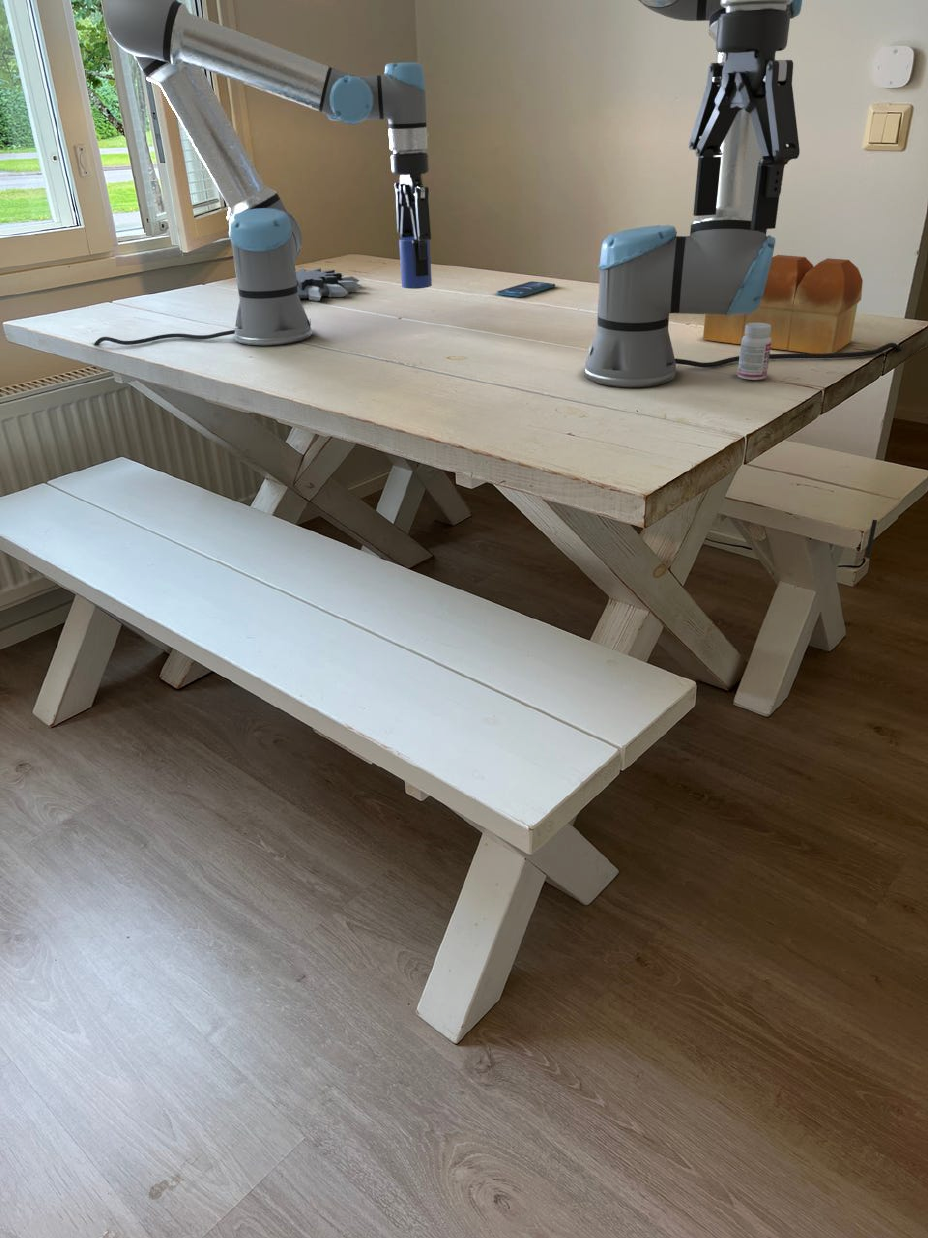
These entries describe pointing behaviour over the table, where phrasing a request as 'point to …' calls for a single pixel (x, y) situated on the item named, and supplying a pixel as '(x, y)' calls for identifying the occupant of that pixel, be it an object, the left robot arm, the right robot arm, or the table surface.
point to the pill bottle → (755, 351)
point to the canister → (412, 265)
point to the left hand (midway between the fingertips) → (415, 272)
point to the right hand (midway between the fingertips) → (732, 221)
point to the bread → (799, 306)
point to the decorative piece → (324, 284)
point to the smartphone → (525, 289)
